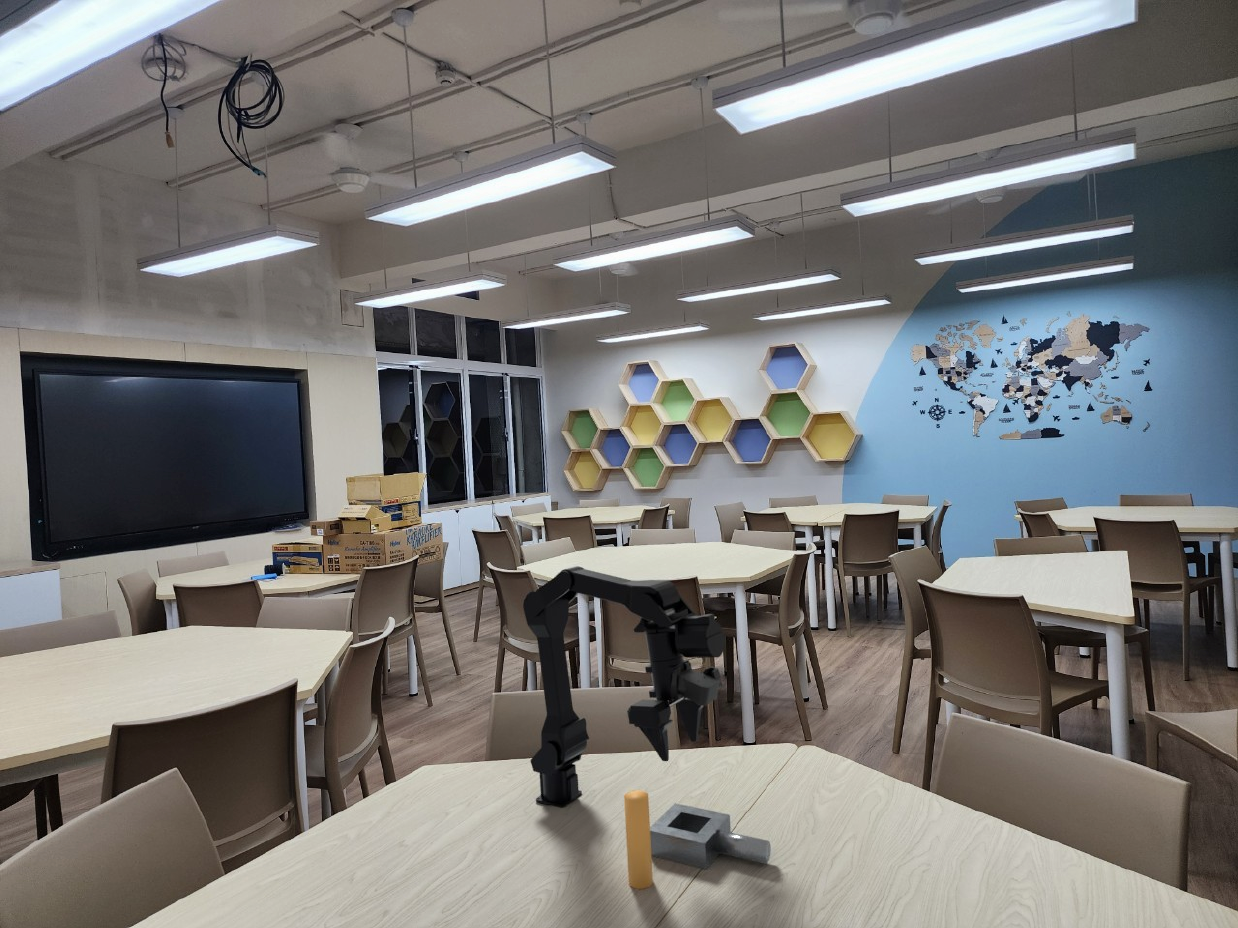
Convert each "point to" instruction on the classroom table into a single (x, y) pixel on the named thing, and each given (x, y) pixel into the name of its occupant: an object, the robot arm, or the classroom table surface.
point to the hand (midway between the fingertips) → (680, 750)
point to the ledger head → (702, 838)
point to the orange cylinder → (638, 839)
